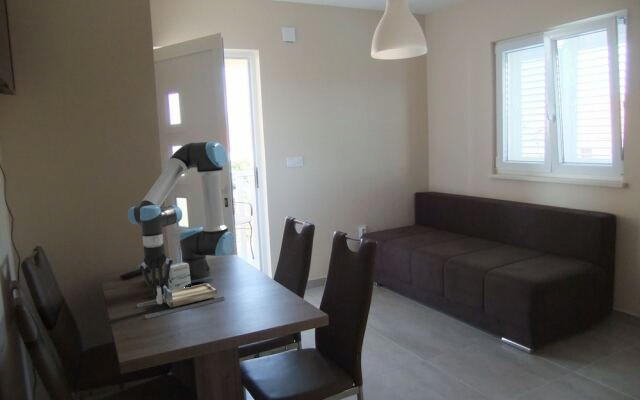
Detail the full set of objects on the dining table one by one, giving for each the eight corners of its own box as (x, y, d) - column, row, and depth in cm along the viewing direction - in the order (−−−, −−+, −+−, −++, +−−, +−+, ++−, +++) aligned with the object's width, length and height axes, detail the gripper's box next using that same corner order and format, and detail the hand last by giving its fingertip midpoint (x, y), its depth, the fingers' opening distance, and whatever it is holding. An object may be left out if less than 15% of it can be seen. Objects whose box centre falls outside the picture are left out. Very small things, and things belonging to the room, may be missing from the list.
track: (137, 306, 187) (137, 304, 187) (211, 290, 203) (210, 287, 203) (146, 318, 174) (146, 315, 173) (224, 300, 190) (224, 297, 190)
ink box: (186, 286, 210) (184, 261, 208) (191, 289, 206) (189, 263, 205) (168, 292, 204) (166, 266, 202) (173, 294, 200) (171, 267, 199)
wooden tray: (163, 302, 190) (161, 285, 189) (207, 292, 201) (206, 275, 200) (171, 310, 180) (169, 292, 179) (217, 299, 191) (216, 282, 190)
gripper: (138, 249, 174) (144, 309, 177) (173, 243, 181) (178, 301, 184) (134, 246, 180) (140, 304, 183) (167, 240, 187) (173, 296, 190)
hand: (159, 302), depth 184 cm, fingers closed
